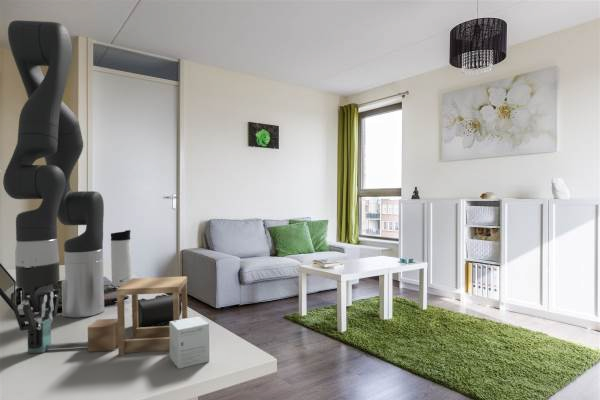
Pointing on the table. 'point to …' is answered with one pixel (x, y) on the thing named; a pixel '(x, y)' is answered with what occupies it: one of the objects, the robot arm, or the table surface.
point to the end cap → (156, 310)
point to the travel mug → (121, 257)
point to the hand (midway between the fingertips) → (40, 344)
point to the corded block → (99, 337)
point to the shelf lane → (145, 335)
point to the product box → (189, 341)
